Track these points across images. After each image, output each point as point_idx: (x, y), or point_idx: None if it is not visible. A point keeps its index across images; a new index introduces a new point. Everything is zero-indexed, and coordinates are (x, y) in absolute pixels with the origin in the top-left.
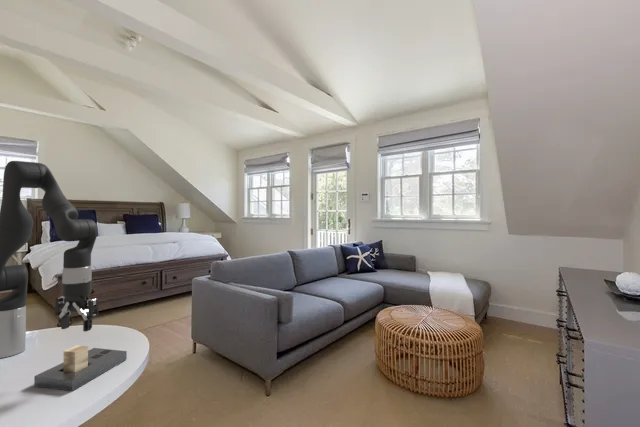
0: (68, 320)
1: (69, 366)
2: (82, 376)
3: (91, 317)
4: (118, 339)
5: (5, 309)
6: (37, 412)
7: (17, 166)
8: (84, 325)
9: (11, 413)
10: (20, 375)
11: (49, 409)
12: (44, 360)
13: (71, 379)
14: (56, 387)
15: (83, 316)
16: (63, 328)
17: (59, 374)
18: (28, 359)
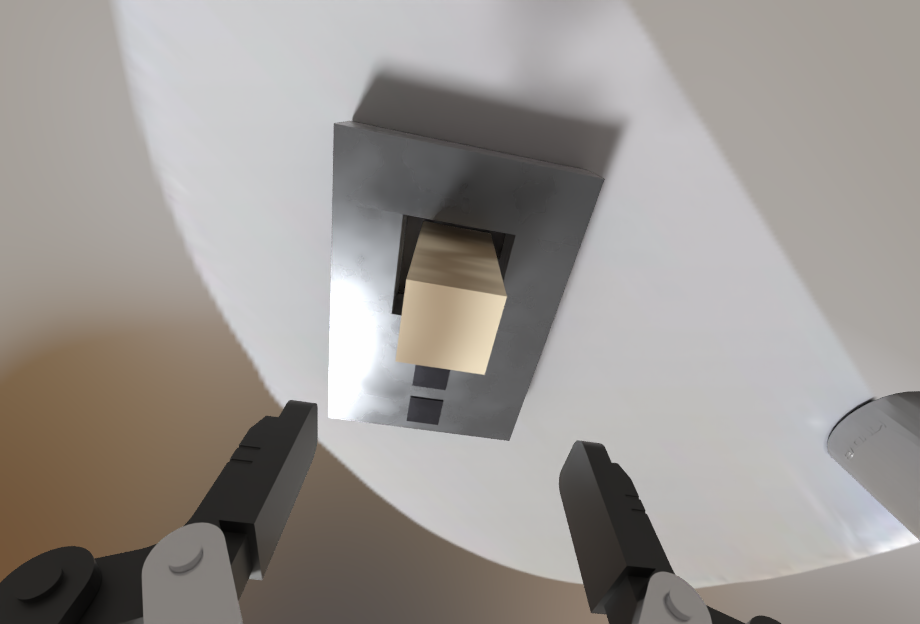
0: (580, 547)
1: (454, 250)
2: (334, 187)
3: (18, 574)
4: (504, 516)
5: None
6: None
7: None
8: (266, 454)
9: None
10: (721, 267)
11: None
12: (694, 381)
13: (355, 141)
14: (450, 142)
15: (208, 598)
16: (580, 446)
17: (475, 199)
18: (768, 387)
